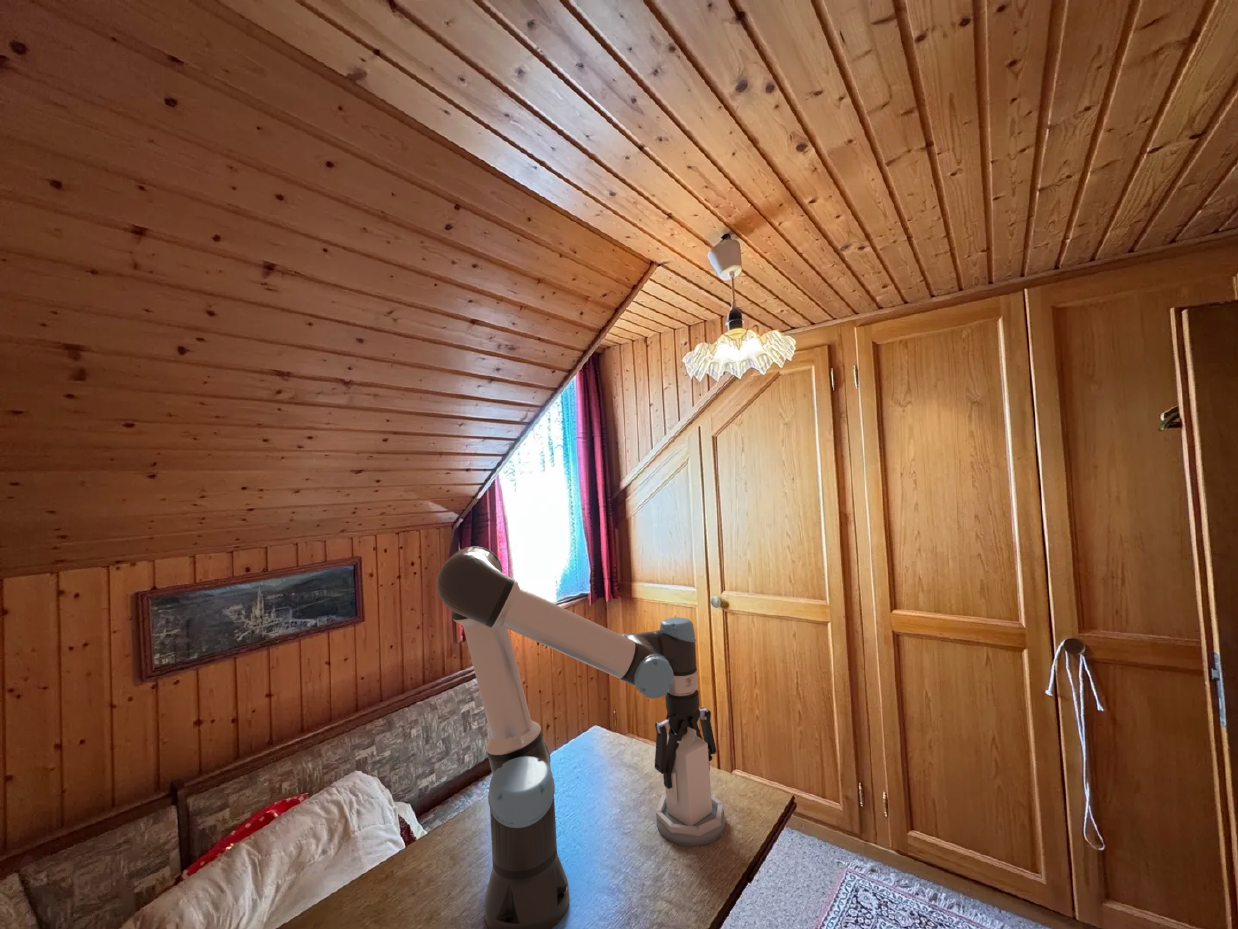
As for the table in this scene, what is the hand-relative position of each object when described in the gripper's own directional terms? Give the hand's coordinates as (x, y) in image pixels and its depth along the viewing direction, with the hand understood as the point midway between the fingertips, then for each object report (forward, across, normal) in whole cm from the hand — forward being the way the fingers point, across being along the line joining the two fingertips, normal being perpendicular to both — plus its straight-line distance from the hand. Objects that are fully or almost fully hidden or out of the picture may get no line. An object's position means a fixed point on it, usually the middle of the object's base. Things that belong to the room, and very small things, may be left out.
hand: (688, 794), depth 113 cm
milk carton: (+4, 0, 0) cm, 4 cm away
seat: (+6, 0, 0) cm, 6 cm away
